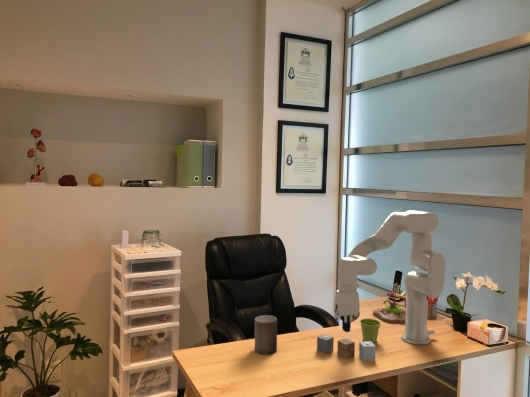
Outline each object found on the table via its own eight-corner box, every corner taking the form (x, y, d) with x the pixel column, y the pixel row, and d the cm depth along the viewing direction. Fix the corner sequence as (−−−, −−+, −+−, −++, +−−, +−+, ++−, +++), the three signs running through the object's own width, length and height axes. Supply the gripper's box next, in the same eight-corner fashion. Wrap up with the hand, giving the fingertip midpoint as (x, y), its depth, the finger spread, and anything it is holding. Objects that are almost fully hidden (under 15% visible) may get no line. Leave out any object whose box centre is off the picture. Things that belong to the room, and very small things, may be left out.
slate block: (370, 355, 175) (371, 340, 174) (375, 360, 170) (375, 345, 169) (359, 355, 174) (359, 341, 174) (363, 360, 169) (363, 345, 169)
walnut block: (346, 352, 177) (346, 338, 177) (354, 356, 173) (354, 342, 173) (337, 354, 175) (337, 340, 175) (345, 359, 171) (345, 344, 170)
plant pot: (381, 345, 185) (381, 326, 184) (359, 343, 187) (359, 324, 186) (379, 337, 194) (380, 319, 193) (358, 335, 196) (359, 317, 195)
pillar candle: (281, 351, 176) (281, 317, 176) (261, 356, 171) (262, 320, 171) (269, 344, 185) (269, 310, 184) (250, 348, 180) (250, 314, 179)
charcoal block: (323, 347, 182) (324, 333, 182) (333, 350, 178) (333, 336, 178) (316, 350, 178) (317, 336, 178) (326, 354, 175) (326, 339, 174)
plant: (421, 322, 216) (422, 301, 216) (388, 325, 211) (388, 303, 210) (399, 310, 235) (400, 291, 235) (368, 312, 230) (369, 293, 230)
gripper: (357, 284, 179) (356, 326, 180) (327, 286, 173) (326, 329, 174) (368, 288, 172) (366, 332, 173) (336, 291, 166) (335, 336, 167)
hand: (346, 330), depth 173 cm, fingers closed
